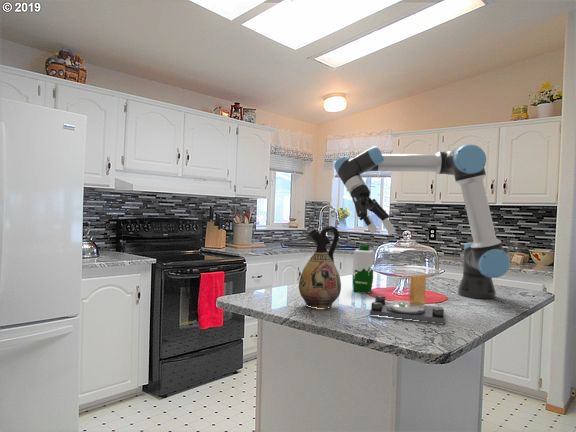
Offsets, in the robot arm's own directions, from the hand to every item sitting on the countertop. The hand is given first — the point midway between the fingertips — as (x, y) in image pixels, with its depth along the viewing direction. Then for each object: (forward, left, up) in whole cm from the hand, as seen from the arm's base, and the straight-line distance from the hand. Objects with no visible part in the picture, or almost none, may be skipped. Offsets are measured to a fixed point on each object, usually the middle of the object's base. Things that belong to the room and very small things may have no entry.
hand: (384, 232), depth 168 cm
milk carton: (+10, -23, -28) cm, 37 cm away
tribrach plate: (-10, +13, -28) cm, 32 cm away
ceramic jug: (+20, +14, -28) cm, 37 cm away
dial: (-11, +12, -25) cm, 30 cm away
